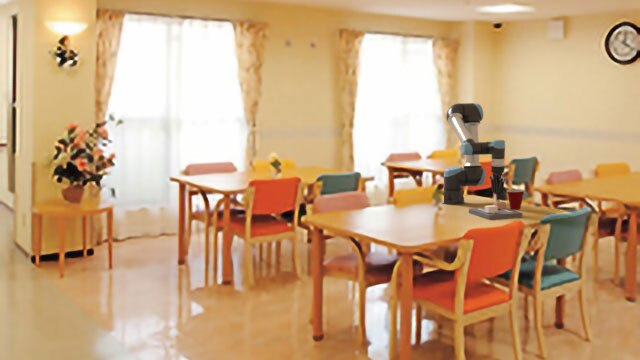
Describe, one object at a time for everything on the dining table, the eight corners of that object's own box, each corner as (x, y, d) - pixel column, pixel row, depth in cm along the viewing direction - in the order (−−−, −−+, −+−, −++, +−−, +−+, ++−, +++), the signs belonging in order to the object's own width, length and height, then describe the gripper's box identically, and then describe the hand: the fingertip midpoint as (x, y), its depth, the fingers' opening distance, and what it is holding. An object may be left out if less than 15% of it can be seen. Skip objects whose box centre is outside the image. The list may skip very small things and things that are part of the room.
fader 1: (484, 211, 375) (484, 205, 374) (493, 211, 376) (493, 205, 376) (488, 213, 371) (488, 207, 370) (497, 212, 373) (497, 206, 372)
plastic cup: (513, 206, 406) (514, 188, 405) (527, 209, 397) (528, 190, 396) (501, 208, 400) (502, 189, 399) (515, 211, 391) (516, 191, 390)
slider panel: (468, 212, 388) (468, 208, 387) (500, 210, 394) (500, 205, 394) (489, 219, 367) (489, 214, 367) (522, 217, 374) (522, 212, 373)
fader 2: (493, 207, 387) (493, 201, 387) (501, 207, 389) (502, 201, 389) (497, 208, 384) (497, 203, 383) (505, 208, 385) (505, 202, 385)
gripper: (486, 164, 391) (485, 203, 394) (498, 167, 378) (497, 206, 381) (497, 164, 393) (496, 202, 396) (509, 166, 381) (508, 206, 384)
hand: (496, 204), depth 389 cm, fingers closed
